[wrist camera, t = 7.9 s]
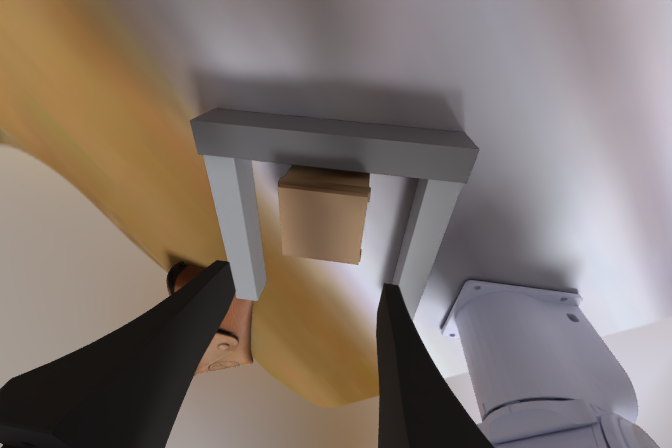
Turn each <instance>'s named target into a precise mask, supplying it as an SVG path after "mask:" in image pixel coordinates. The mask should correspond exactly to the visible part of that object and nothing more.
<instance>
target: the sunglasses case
mask: <svg viewBox="0 0 672 448" xmlns="http://www.w3.org/2000/svg"><path fill="white" fill-rule="evenodd" d="M203 270H205V269H203V268H199V267H196V266H191V265H186V264H184V262H180V263H178V264H176V265H174V266H173V267H172V268H171V270H170V271H169V272H168V275H167V288H168V291H169V295H172V294H173V293H175V292H176V291H177V290H179V289H180V288H181V287H183V286H184V285H185V284H187V283H188V282H189V281H191V280H192V279H193V278H194V277H196V276H197V275H198V274H200V273H201V272H202V271H203ZM252 307H253V300H246V299H239V298H236V293H235V295H234V298H233V301H232V303H231V305H230V308H229V310H228V312H227V314H226V316H225V318H224V320H223V322H222V323H221V325H220V327H219V329H218V331H217V332H216V334H215V336H214V338H213V339H212V341H211V343H210V345H209V347H208V348H207V350H206V352H205V354H204V355H203V357H202V359H201V361H200V363H199V365H198V367H197V370H196V372H195V374H194V375H196V374H198V373H203V372H208V371H214V370H219V369H225V368H231V367H236V366H240V365H245V364H252V363H253V357H252V354H251V322H252Z"/></svg>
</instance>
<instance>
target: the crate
mask: <svg viewBox="0 0 672 448" xmlns="http://www.w3.org/2000/svg"><path fill="white" fill-rule="evenodd" d="M369 176H370V173H365V172H356V171H347V170H338V169H328V168H319V167H310V166H301V165H292V166H291V168H290V169H289V171H288V172H287V174H286V175H285V177H284V178H281V179H280V180H279V181H278V197H279V211H280V225H281V238H282V252H283V255H288V256H295V257H303V258H311V259H318V260H326V261H333V262H341V263H348V264H356V265H358V263H359V262H360V259H361V243H362V236H363V229H364V222H365V216H366V209H367V202H369V199H370V191H371V188H370V187H369Z"/></svg>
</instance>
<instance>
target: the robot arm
mask: <svg viewBox="0 0 672 448" xmlns="http://www.w3.org/2000/svg"><path fill="white" fill-rule="evenodd" d="M476 286H477V287H476ZM235 293H236V289H235V285H234V280H233V276H232V271H231V267H230V262H227V261H219V260H216V261H215V262H214V263H212V264H211V265H210V266H209V267H207V268H206V269H205V270H203V271H202V272H201V273H200V274H198V275H197V276H196V277H194V278H193V279H192V280H191V281H189V282H188V283H187V284H185V285H184V286H183V287H181V288H180V289H179V290H177V291H176V292H175V293H173V294H172V295H170V296H169V297H168V298H166V299H165V300H163V301H162V302H160V303H159V304H158V305H156V306H155V307H153V308H152V309H150V310H149V311H147V312H146V313H144V314H142V315H141V316H139V317H138V318H136V319H134V320H133V321H131V322H129V323H128V324H126V325H124V326H123V327H121V328H119V329H117V330H115V331H113V332H112V333H110V334H108V335H106V336H104V337H102V338H100V339H98V340H97V341H95V342H93V343H91V344H89V345H87V346H85V347H83V348H81V349H78V350H77V351H74V352H72V353H70V354H68V355H66V356H64V357H61V358H59V359H57V360H55V361H52V362H50V363H48V364H45V365H43V366H41V367H38V368H36V369H33V370H31V371H29V372H26V373H24V374H21V375H19V376H16V377H14V378H12V379H10V380H9V381H8V382H7V383H6V384H5V385H4V386H3V387H2V388H1V389H0V443H2V444H3V446H2V447H1V448H165V446H166V443H167V440H168V438H169V435H170V432H171V430H172V427H173V424H174V422H175V419H176V417H177V414H178V412H179V409H180V407H181V404H182V402H183V400H184V397H185V395H186V392H187V390H188V388H189V385H190V383H191V381H192V379H193V376H194V374H195V372H196V370H197V367H198V365H199V363H200V361H201V359H202V357H203V355H204V354H205V352H206V350H207V348H208V347H209V345H210V343H211V341H212V339H213V338H214V336H215V334H216V332H217V331H218V329H219V327H220V325H221V323H222V322H223V320H224V318H225V316H226V314H227V312H228V310H229V308H230V305H231V303H232V301H233V298H234V295H235ZM582 301H583V298H582V297H581V296H580V295H579V294H574V293H566V292H558V291H551V290H543V289H536V288H528V287H521V286H513V285H505V284H498V283H490V282H483V281H475V280H469V281H466V282H465V284H464V286H463V288H462V290H461V292H460V294H459V296H458V298H457V300H456V302H455V304H454V306H453V308H452V310H451V312H450V314H449V316H448V318H447V321H446V323H445V325H444V327H443V329H442V331H441V332H442V335H443V336H444V337H449V338H456V339H460V340H461V344H462V347H463V351H464V355H465V358H466V362H467V366H468V370H469V373H470V377H471V381H472V385H473V388H474V392H475V396H476V399H477V403H478V407H479V410H480V414H481V418H482V423H480V424H477V425H476V424H475V422H474V421H473V420H472V418H471V417H470V416H469V415H468V413H467V412H466V410H465V409H464V408H463V406H462V405H461V403H460V402H459V401H458V399H457V398H456V396H455V395H454V393H453V392H452V391H451V389H450V388H449V386H448V385H447V383H446V382H445V380H444V378H443V377H442V375H441V374H440V372H439V370H438V369H437V367H436V365H435V364H434V362H433V360H432V359H431V357H430V355H429V353H428V351H427V350H426V348H425V346H424V344H423V342H422V340H421V338H420V336H419V334H418V332H417V330H416V328H415V325H414V323H413V321H412V319H411V317H410V314H409V312H408V309H407V307H406V304H405V302H404V299H403V296H402V293H401V290H400V287H399V286H398V285H394V284H386V283H384V286H383V290H382V294H381V298H380V302H379V307H378V311H377V328H376V338H377V355H378V372H379V393H380V399H379V400H380V401H379V435H378V448H660V447H659V446H658V445H657V444H656V443H655V441H654V440H653V439H652V438H651V437H650V436H649V435H648V434H647V433H646V432H645V431H644V430H643V429H641V428H640V427H639V426H638V425H636V424H635V422H636V420H637V416H638V403H637V398H636V394H635V391H634V388H633V385H632V383H631V381H630V379H629V377H628V375H627V373H626V372H625V370H624V369H623V368H622V366H621V365H620V363H619V362H618V361H617V359H616V358H615V356H614V355H613V354H612V352H611V351H610V350H609V348H608V347H607V346H606V344H605V343H604V341H603V340H602V339H601V337H600V336H599V335H598V333H597V332H596V330H595V329H594V328H593V326H592V325H591V324H590V322H589V321H588V319H587V318H586V317H585V315H584V314H583V313H582V311H581V310H580V309H579V307H578V306H579V305H580V304H581V302H582Z"/></svg>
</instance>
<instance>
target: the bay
mask: <svg viewBox="0 0 672 448" xmlns="http://www.w3.org/2000/svg"><path fill="white" fill-rule="evenodd" d="M190 123H191V127H192V131H193V135H194V140H195V144H196V148H197V152H198V154H199V155H203V156H204V160H205V165H206V169H207V173H208V178H209V182H210V186H211V190H212V195H213V199H214V203H215V208H216V212H217V216H218V220H219V225H220V229H221V233H222V238H223V242H224V246H225V251H226V255H227V259H228V262H230V267H231V271H232V276H233V280H234V285H235V289H236V298H239V299H246V300H253V301H258V299H259V297H260V295H261V293H262V290H263V288H264V286H265V284H266V281H267V280H266V272H265V264H264V256H263V248H262V240H261V233H260V225H259V217H258V209H257V201H256V194H255V186H254V178H253V170H252V162H251V160H255V161H264V162H273V163H282V164H291V165H301V166H310V167H319V168H328V169H338V170H347V171H356V172H365V173H374V174H384V175H393V176H402V177H411V178H419V181H418V185H417V188H416V192H415V196H414V200H413V204H412V208H411V212H410V215H409V219H408V223H407V227H406V231H405V235H404V238H403V242H402V246H401V250H400V254H399V258H398V261H397V265H396V269H395V273H394V277H393V281H392V284H394V285H398V286H399V287H400V290H401V293H402V296H403V299H404V302H405V304H406V307H407V309H408V312H409V314H410V317H411V319H412V321H413V318H414V316H415V313H416V310H417V307H418V305H419V302H420V299H421V296H422V294H423V291H424V288H425V286H426V283H427V280H428V277H429V275H430V272H431V269H432V267H433V264H434V261H435V258H436V256H437V253H438V250H439V248H440V245H441V242H442V239H443V237H444V234H445V231H446V228H447V226H448V223H449V220H450V218H451V215H452V212H453V209H454V207H455V204H456V201H457V199H458V196H459V193H460V190H461V188H462V185H463V183H467V181H468V179H469V176H470V173H471V171H472V168H473V165H474V163H475V160H476V157H477V155H478V152H479V148H478V147H477V146H476V145H475V144H474V142H473V141H472V140H471V139H470V138H469V137H468V136H467V134H466V133H465V132H455V131H445V130H434V129H424V128H413V127H403V126H392V125H382V124H372V123H361V122H351V121H340V120H330V119H320V118H309V117H299V116H288V115H278V114H268V113H257V112H247V111H236V110H226V109H213V110H211V111H209V112H207V113H205V114H203V115H201V116H198V117H196V118H194V119H192V120H190Z"/></svg>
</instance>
